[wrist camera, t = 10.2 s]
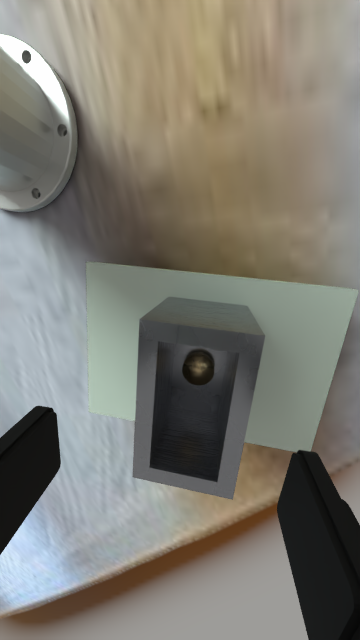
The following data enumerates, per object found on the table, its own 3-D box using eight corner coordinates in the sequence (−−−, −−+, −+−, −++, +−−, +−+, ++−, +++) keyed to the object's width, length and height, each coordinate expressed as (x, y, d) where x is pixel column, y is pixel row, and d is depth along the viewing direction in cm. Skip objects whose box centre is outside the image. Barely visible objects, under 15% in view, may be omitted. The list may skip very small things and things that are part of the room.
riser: (107, 389, 26) (88, 412, 22) (108, 261, 22) (86, 261, 18) (294, 422, 24) (309, 454, 20) (331, 284, 20) (359, 290, 16)
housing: (168, 296, 18) (139, 319, 11) (247, 305, 17) (265, 335, 11) (160, 406, 21) (132, 477, 14) (227, 419, 20) (232, 499, 13)
